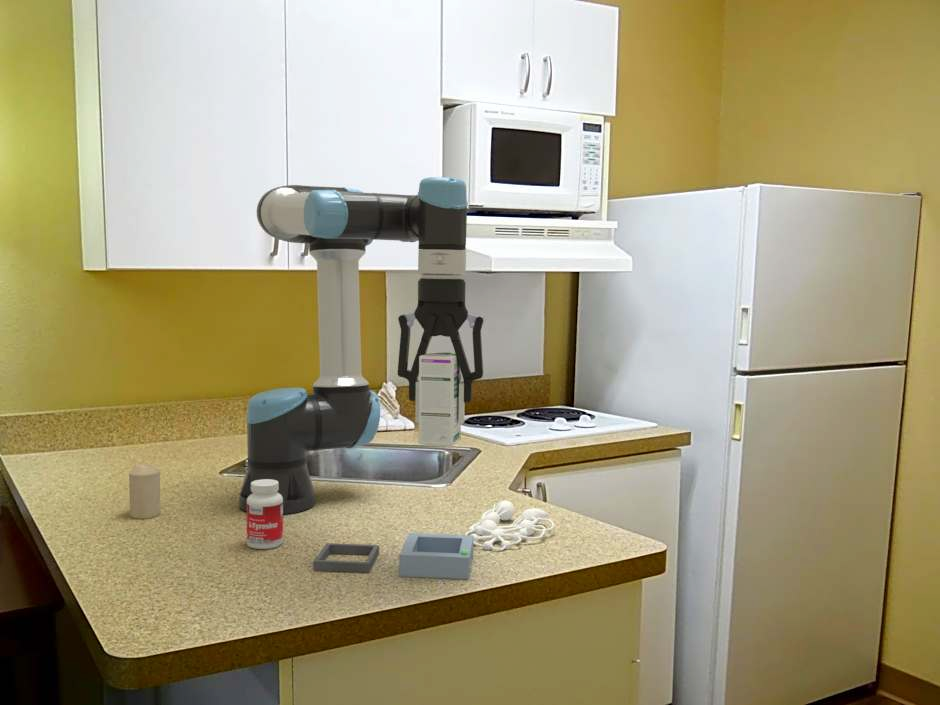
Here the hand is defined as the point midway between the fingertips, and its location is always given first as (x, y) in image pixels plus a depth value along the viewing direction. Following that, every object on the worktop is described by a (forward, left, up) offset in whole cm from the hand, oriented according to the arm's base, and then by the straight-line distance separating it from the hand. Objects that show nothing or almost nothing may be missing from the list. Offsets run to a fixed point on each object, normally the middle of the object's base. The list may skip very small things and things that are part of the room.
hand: (440, 421), depth 135 cm
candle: (-59, +21, -24) cm, 67 cm away
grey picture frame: (-15, 0, -24) cm, 28 cm away
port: (0, 0, -24) cm, 24 cm away
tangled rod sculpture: (+12, +18, -25) cm, 33 cm away
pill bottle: (-31, +7, -24) cm, 40 cm away
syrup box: (0, 0, -4) cm, 4 cm away
